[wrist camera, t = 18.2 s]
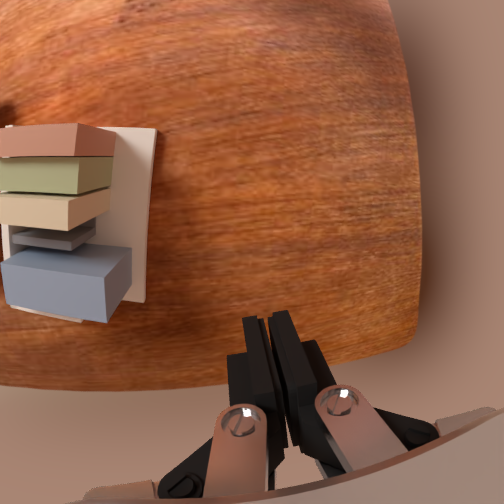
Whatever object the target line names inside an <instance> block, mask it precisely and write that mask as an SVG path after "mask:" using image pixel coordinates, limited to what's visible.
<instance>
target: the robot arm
mask: <svg viewBox="0 0 504 504" xmlns="http://www.w3.org/2000/svg"><path fill="white" fill-rule="evenodd" d="M242 321H243V328H244V335H245V341H246V348H247V352H245V353H239V354H233V355H227V369H228V384H229V397H230V407H228V408H227V409H225V410H224V411H222V412H221V413H220V415H219V416H218V417H217V420H216V423H215V429H214V434H213V437H212V438H211V439H209V440H208V441H207V442H206V443H205V444H204V445H203V446H201V447H200V448H199V449H198V450H196V451H195V452H194V453H193V454H192V455H190V456H189V457H188V458H187V459H185V460H184V461H183V462H182V463H180V464H179V465H178V466H177V467H175V468H174V469H173V470H172V471H170V472H169V473H168V474H166V475H165V476H164V477H163V478H162V479H161V481H157V482H152V480H147V481H141V482H134V483H127V484H120V485H112V486H103V487H96V488H93V489H91V490H89V491H88V492H86V494H85V495H84V497H83V500H79V501H75V502H70V503H66V504H504V408H501V409H499V410H495V409H494V408H490V407H484V408H479V409H476V410H473V411H469V412H466V413H462V414H458V415H455V416H451V417H447V418H443V419H438V420H436V421H435V423H434V424H430V423H428V422H425V421H422V420H418V419H414V418H410V417H406V416H402V415H398V414H395V413H391V412H388V411H384V410H381V409H377V408H374V407H372V406H371V404H370V403H369V402H368V401H367V399H366V398H365V397H364V396H363V394H362V393H361V392H360V391H359V390H357V389H356V388H354V387H351V386H348V385H337V384H336V382H335V380H334V378H333V375H332V374H331V371H330V369H329V367H328V365H327V363H326V361H325V359H324V356H323V354H322V352H321V350H320V348H319V346H318V344H317V342H316V340H310V341H305V342H300V339H299V337H298V334H297V332H296V329H295V327H294V325H293V322H292V320H291V317H290V315H289V312H288V310H284V311H278V312H273V316H272V317H268V325H269V333H270V340H271V346H270V343H269V339H268V335H267V331H266V327H265V323H264V320H263V318H261V319H257V315H256V316H250V317H244V318H242ZM271 348H272V350H271ZM285 417H286V420H287V424H288V428H289V432H290V436H291V440H292V443H293V446H298V445H299V447H300V451H301V453H304V454H305V455H308V456H310V457H312V458H315V462H316V465H317V467H318V469H319V471H320V472H321V474H322V476H323V478H324V480H320V481H316V482H311V483H307V484H303V485H298V486H293V487H288V488H282V489H277V490H276V468H277V466H278V465H279V464H280V463H281V462H282V461H283V460H284V458H285V457H284V448H288V440H287V431H286V421H285Z"/></svg>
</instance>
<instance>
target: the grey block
mask: <svg viewBox="0 0 504 504" xmlns="http://www.w3.org/2000/svg"><path fill="white" fill-rule="evenodd" d="M0 264H1V272H2V279H3V286H4V292H5V298H6V303H7V304H10V305H14V306H19V307H23V308H28V309H32V310H37V311H42V312H47V313H52V314H57V315H62V316H68V317H73V318H79V319H85V320H91V321H97V322H103V323H107V322H108V321H109V319H110V317H111V316H112V314H113V313H114V311H115V310H116V308H117V306H118V305H119V303H120V302H121V300H122V299H123V297H124V296H125V294H126V293H127V291H128V290H129V288H130V286H131V285H132V248H128V247H118V246H108V245H98V244H88V243H82V244H81V245H79V246H78V247H76V248H75V249H73V250H72V251H68V250H60V249H53V248H45V247H37V246H29V247H28V248H26V249H24V250H22V251H20V252H19V253H17V254H15V255H13V256H11V257H10V258H8V259H6V260H4V261H3V262H1V263H0Z"/></svg>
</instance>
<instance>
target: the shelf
mask: <svg viewBox="0 0 504 504" xmlns="http://www.w3.org/2000/svg"><path fill="white" fill-rule="evenodd" d="M157 131H158V130H157V129H150V128H125V127H92V126H88V125H84V124H79V123H69V124H46V125H31V126H18V125H8V126H5V128H0V157H2V158H0V191H1V193H0V224H1V229H2V245H3V256H4V260H6V259H8V258H10V257H11V256H13V255H15V254H17V253H19V252H20V251H22V250H24V249H26V248H28V247H29V246H37V247H45V248H53V249H60V250H68V251H72V250H73V249H75V248H76V247H78V246H79V245H81V244H82V243H88V244H98V245H108V246H118V247H128V248H132V285H131V286H130V288H129V290H128V291H127V293H126V294H125V296H124V297H123V299H122V300H125V301H133V302H140V303H144V301H145V299H146V257H147V235H148V218H149V205H150V193H151V182H152V172H153V162H154V154H155V146H156V138H157ZM10 306H11V308H15V309H19V310H23V311H28V312H32V313H36V314H41V315H45V316H50V317H55V318H59V319H64V320H69V321H74V322H80V323H82V321H83V320H84V319H79V318H73V317H68V316H62V315H57V314H52V313H47V312H42V311H37V310H32V309H28V308H23V307H19V306H14V305H10Z"/></svg>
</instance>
